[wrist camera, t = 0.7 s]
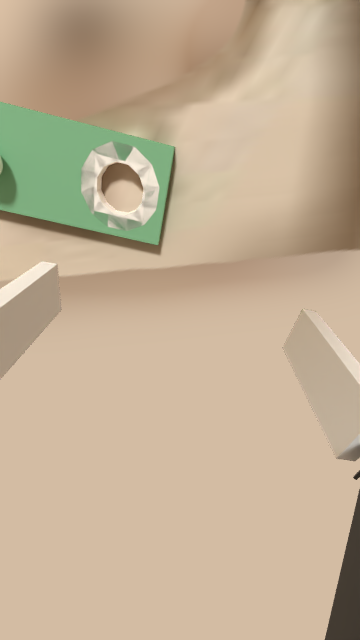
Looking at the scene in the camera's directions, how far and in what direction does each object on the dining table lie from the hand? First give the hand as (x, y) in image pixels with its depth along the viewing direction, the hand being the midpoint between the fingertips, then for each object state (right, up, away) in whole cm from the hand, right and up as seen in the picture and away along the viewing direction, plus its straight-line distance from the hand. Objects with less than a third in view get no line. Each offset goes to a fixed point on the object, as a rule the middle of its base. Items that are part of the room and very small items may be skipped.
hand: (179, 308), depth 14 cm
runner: (-16, +19, +20) cm, 32 cm away
